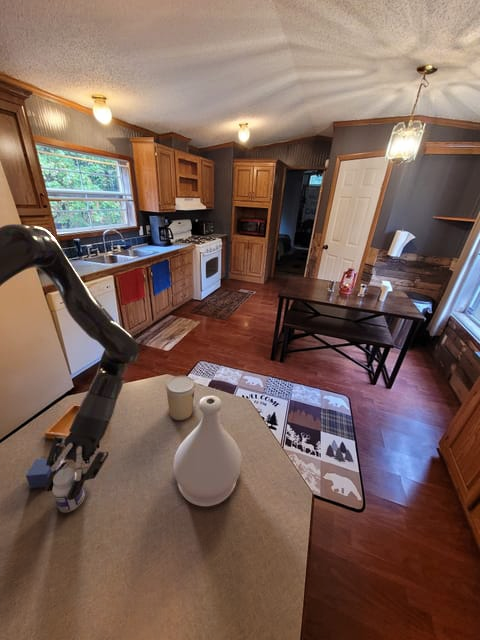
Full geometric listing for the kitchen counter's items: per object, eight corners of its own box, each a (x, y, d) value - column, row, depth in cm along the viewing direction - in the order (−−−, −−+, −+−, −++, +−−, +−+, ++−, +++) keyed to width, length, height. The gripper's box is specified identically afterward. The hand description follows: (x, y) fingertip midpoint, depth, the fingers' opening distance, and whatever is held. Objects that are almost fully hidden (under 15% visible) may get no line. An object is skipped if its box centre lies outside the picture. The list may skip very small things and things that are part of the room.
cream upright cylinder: (199, 415, 87) (199, 387, 82) (173, 426, 82) (171, 396, 77) (188, 399, 94) (188, 372, 89) (163, 408, 88) (161, 380, 84)
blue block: (30, 488, 61) (25, 475, 59) (40, 471, 65) (36, 459, 63) (50, 486, 62) (46, 473, 60) (59, 469, 66) (55, 457, 64)
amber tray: (46, 438, 74) (44, 433, 73) (75, 408, 85) (74, 404, 84) (85, 443, 73) (84, 438, 72) (109, 413, 84) (109, 408, 84)
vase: (205, 437, 78) (207, 370, 69) (252, 470, 70) (262, 398, 60) (159, 480, 65) (154, 404, 55) (210, 527, 56) (214, 447, 46)
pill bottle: (81, 485, 63) (74, 460, 59) (87, 501, 59) (81, 476, 56) (55, 500, 59) (46, 474, 56) (61, 518, 56) (52, 492, 52)
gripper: (58, 406, 60) (19, 487, 54) (110, 422, 56) (74, 510, 50) (81, 408, 66) (48, 481, 60) (128, 422, 63) (98, 501, 57)
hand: (60, 494), depth 56 cm, fingers closed on pill bottle, 5 cm apart
